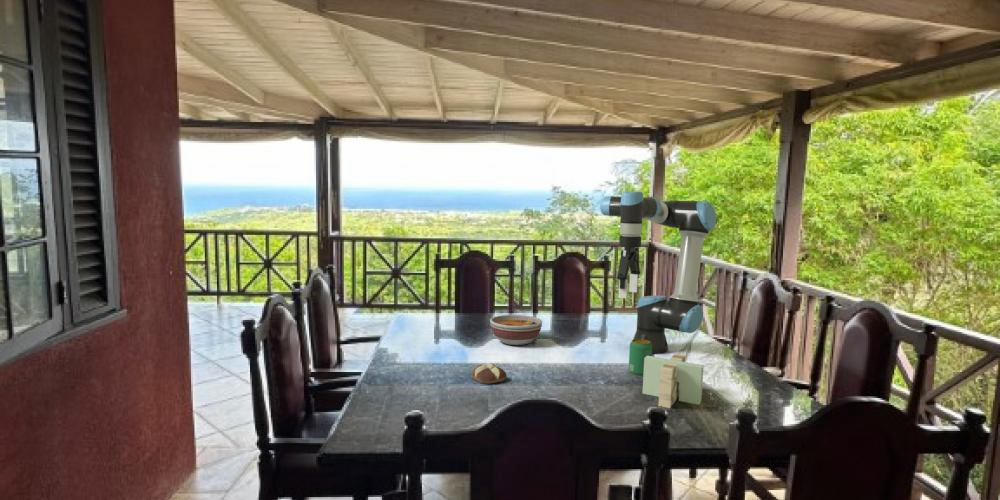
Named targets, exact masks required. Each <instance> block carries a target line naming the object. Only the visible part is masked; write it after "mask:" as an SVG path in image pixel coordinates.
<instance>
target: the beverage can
mask: <svg viewBox="0 0 1000 500" xmlns="http://www.w3.org/2000/svg"><path fill="white" fill-rule="evenodd" d="M628 355H629V356H628V371H629V373H630V374H631V375H634V376H637V377H638V376H639V377H643V374H644V358H645V357H646V356H653V354H652V344H651V342H650V341H648V340H644V339H633V338H632V340H631V342H630V343H629V353H628Z"/></svg>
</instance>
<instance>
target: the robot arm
mask: <svg viewBox="0 0 1000 500" xmlns="http://www.w3.org/2000/svg"><path fill="white" fill-rule="evenodd" d="M599 205H600V206H599V209H600V213H601V214H602V215H603V216H608V217H619V218H620V221H619V223H620V224H619V225H618V228H619V234H620V235H619V239H618V240H619V241H618V243H619V247H621V248H622V247H623V248H624V249H623V250H622V249H621V250H620V259H619V263H618V264H619V265H618V268H617V269H618V271H617V275H616V280H618V297H617V298H618V299H619V298H620V299H627V298H628V292H630V293H638V283H639V281H638V280H639V275H641V269H640V257H639V248H640V247H641V246H642V237H641V235H642V234H643V229H642V228H643V221H649V222H651V223H653V224H655V225H656V224H657V225H661V226H665V227H669V228H674V229H678V233H679V235H680V236H681V241H680V247H679V248H680V249H679V254H678V256H679V257H678V263H677V268H676V269H677V270H676V277H675V284H674V289H673V290H674V291H673V294H671V295H670V296H669V299H668V298H667V296H665V295H646V296H645V295H644V296H641V297H639V298H638V302H637V307H636V308H637V314H636V315H637V317H636V331H635V333H634V336H633V338H632V340H633V339H644V340H648V341H650V342H651V344H652V353H654V354H655V355H656V354H658V353H660V354H665V353H667V352H668V351H669V344H668V340H667V338H666V334H665V333H666V332H665V330H671V331H672V330H673V331H677V332H680V333H687V334H693V333H695V332H696V331H697V330H698V329H699V328H700V326H701V324H702V321H703V318H704V310H703V307H702V306H701V305H700V300H699V299H698V298H697V290H698V283H699V275H700V270H701V261H702V253H703V247H704V241H705V240H704V239H705V238H706V237H708V236H709V232H711V231H713V230H714V229H715V227H716V225H717V215H716V209H715V207H714V205H713V204H712V203H711V202H709V201H704V200H667V201H666V200H665V201H663V200H662V201H660V199H659V198H657V197H653V196H644V192H642V191H628V190H627V191H623V192H622V193H621V196H617V195H615V196H613V195H610V196H609V195H608V196H604V197H603V198H602V199H601V201H600V204H599ZM629 271H630V274H629ZM628 274H629V285H628V279H627V278H628ZM628 286H629V288H628ZM628 289H629V290H628ZM658 355H659V354H658Z"/></svg>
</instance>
